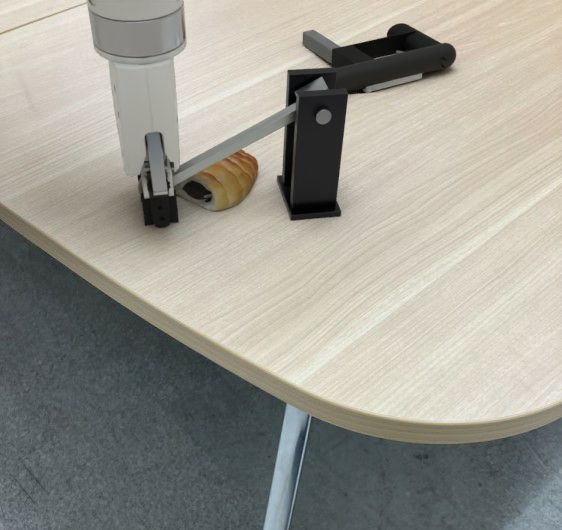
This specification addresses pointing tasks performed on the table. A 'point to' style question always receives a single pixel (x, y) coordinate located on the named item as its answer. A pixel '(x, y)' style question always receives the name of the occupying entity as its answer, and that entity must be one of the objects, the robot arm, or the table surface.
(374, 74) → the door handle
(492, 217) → the table surface
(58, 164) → the table surface
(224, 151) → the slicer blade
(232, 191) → the pastry
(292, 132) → the black lever stand
